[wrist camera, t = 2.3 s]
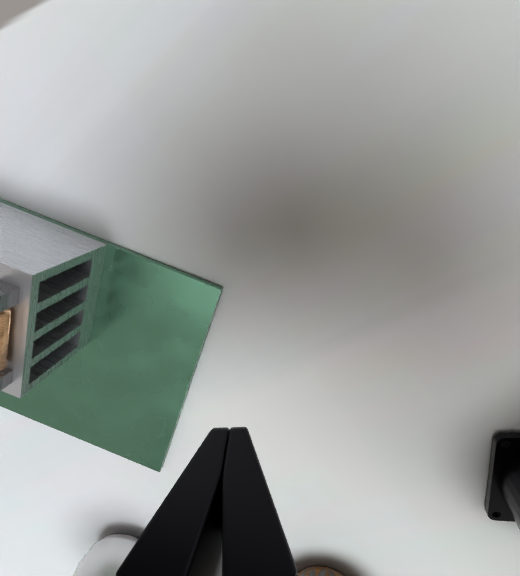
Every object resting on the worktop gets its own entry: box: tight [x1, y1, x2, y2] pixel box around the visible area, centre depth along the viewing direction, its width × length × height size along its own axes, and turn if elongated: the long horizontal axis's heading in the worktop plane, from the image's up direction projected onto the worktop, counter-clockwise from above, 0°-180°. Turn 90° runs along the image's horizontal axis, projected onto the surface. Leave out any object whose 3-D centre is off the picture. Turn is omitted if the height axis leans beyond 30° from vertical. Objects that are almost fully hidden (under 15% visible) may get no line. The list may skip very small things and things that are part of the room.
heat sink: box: [0, 199, 223, 472], centre depth 20 cm, size 17×16×8 cm
